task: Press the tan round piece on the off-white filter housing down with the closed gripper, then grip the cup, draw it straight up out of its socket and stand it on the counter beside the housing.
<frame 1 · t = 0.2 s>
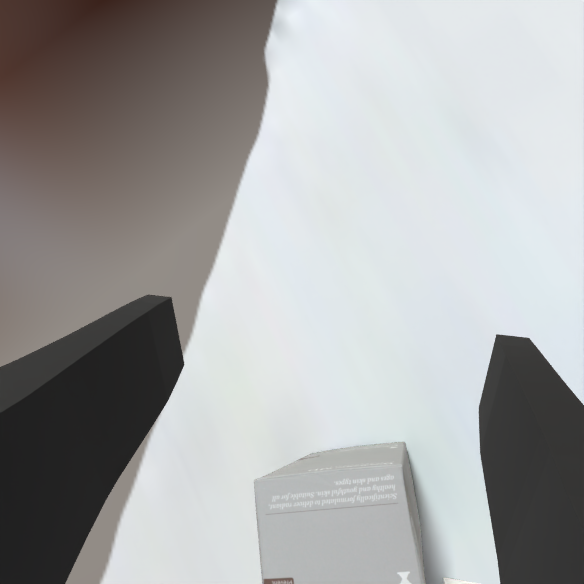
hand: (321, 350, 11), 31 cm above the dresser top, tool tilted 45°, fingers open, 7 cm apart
skincare box: (360, 492, 39), on the dresser top
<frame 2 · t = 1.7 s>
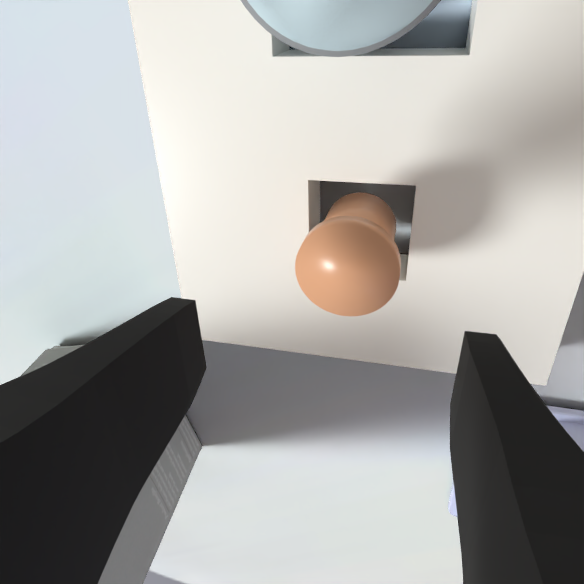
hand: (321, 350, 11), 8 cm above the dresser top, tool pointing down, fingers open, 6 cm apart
housing: (372, 76, 15), on the dresser top
skincare box: (139, 396, 27), on the dresser top
tan round piece: (353, 247, 15), point 3 cm above the dresser top, slide at 0.0 cm
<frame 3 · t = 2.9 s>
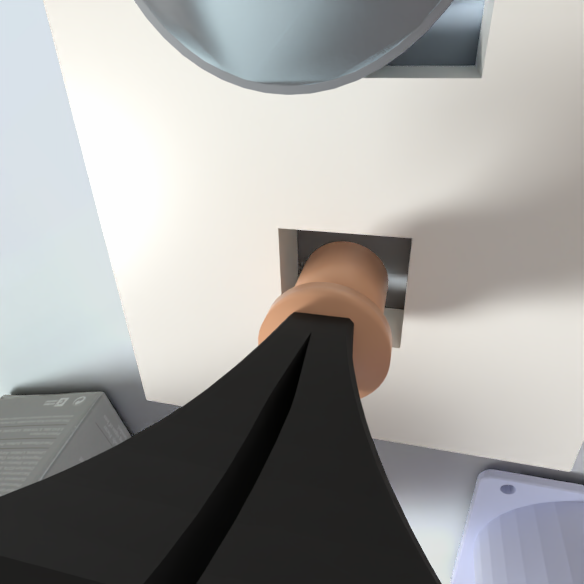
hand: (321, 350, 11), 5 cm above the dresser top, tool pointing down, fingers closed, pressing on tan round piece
housing: (358, 100, 12), on the dresser top
skincare box: (102, 449, 24), on the dresser top
tan round piece: (334, 312, 12), point 3 cm above the dresser top, slide at 0.1 cm, touching gripper
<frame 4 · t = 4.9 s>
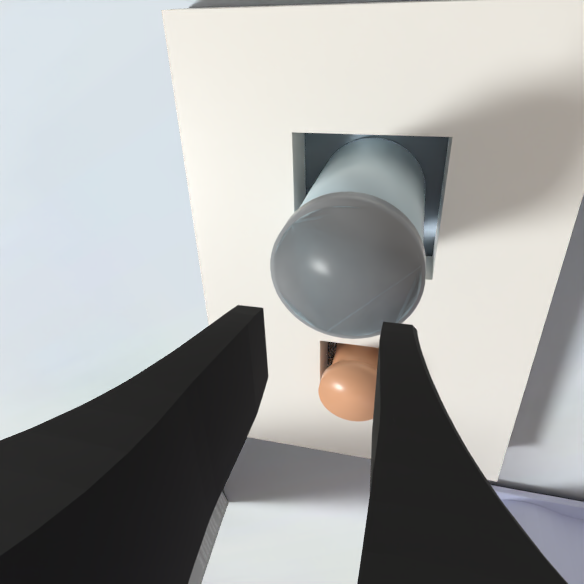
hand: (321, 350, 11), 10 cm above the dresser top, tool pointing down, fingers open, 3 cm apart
housing: (366, 267, 21), on the dresser top
skincare box: (177, 462, 33), on the dresser top
cup: (371, 190, 19), resting in housing
tan round piece: (357, 371, 22), point 2 cm above the dresser top, slide at 1.4 cm
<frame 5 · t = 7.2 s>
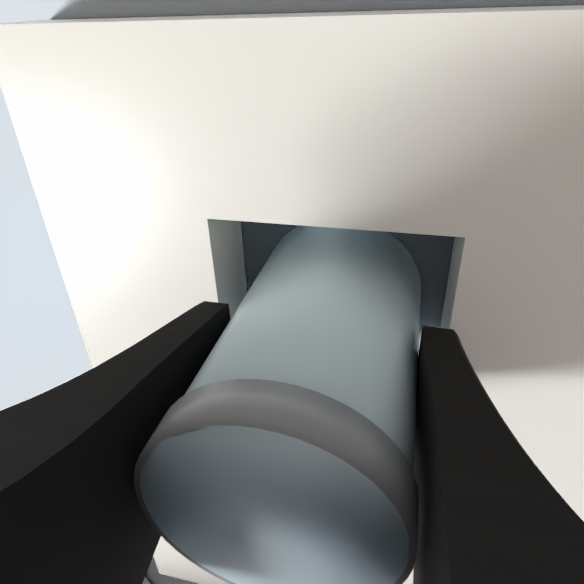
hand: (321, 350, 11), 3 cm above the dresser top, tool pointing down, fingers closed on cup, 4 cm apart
housing: (338, 385, 15), on the dresser top
cup: (341, 288, 13), resting in housing, touching gripper
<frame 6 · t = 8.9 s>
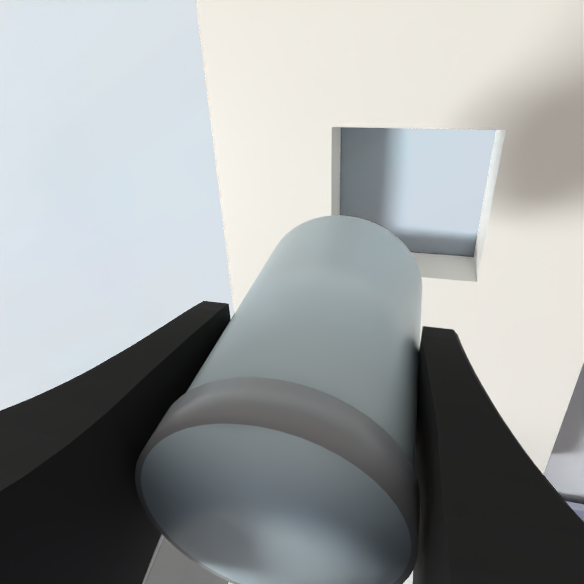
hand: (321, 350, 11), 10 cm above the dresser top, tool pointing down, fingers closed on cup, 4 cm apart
housing: (402, 268, 20), on the dresser top
skincare box: (197, 470, 32), on the dresser top
cup: (342, 287, 13), point 7 cm above the dresser top, touching gripper
when the fingers open (4 cm above the dresser top, at t = 11.1 s): cup stays where it is, on the dresser top.
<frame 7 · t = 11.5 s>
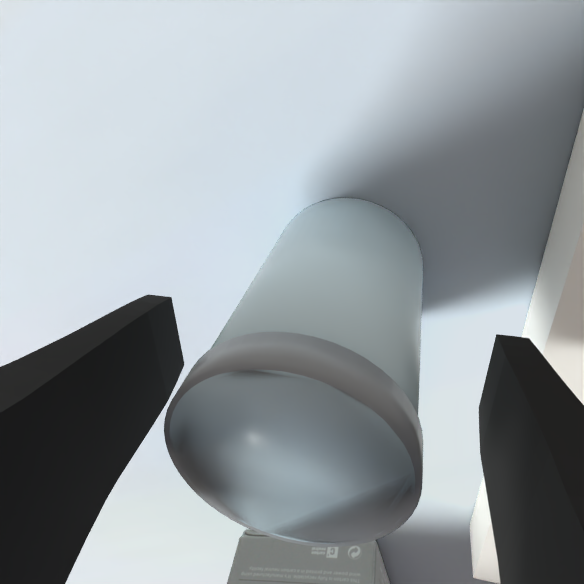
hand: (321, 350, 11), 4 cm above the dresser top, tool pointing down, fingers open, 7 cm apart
skincare box: (336, 579, 23), on the dresser top
cup: (347, 267, 14), on the dresser top
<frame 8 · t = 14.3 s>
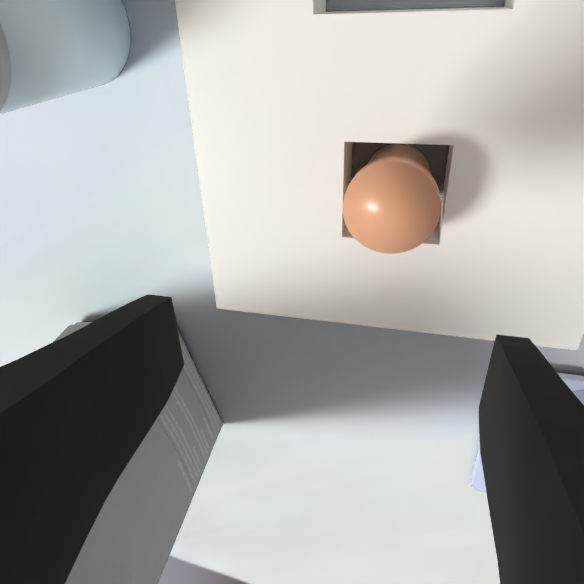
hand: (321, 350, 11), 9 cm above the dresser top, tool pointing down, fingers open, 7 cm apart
housing: (408, 38, 15), on the dresser top
skincare box: (161, 373, 27), on the dresser top
cup: (78, 24, 18), on the dresser top
tan round piece: (393, 192, 16), point 2 cm above the dresser top, slide at 1.4 cm
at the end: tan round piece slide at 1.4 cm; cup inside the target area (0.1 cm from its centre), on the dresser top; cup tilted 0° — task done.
